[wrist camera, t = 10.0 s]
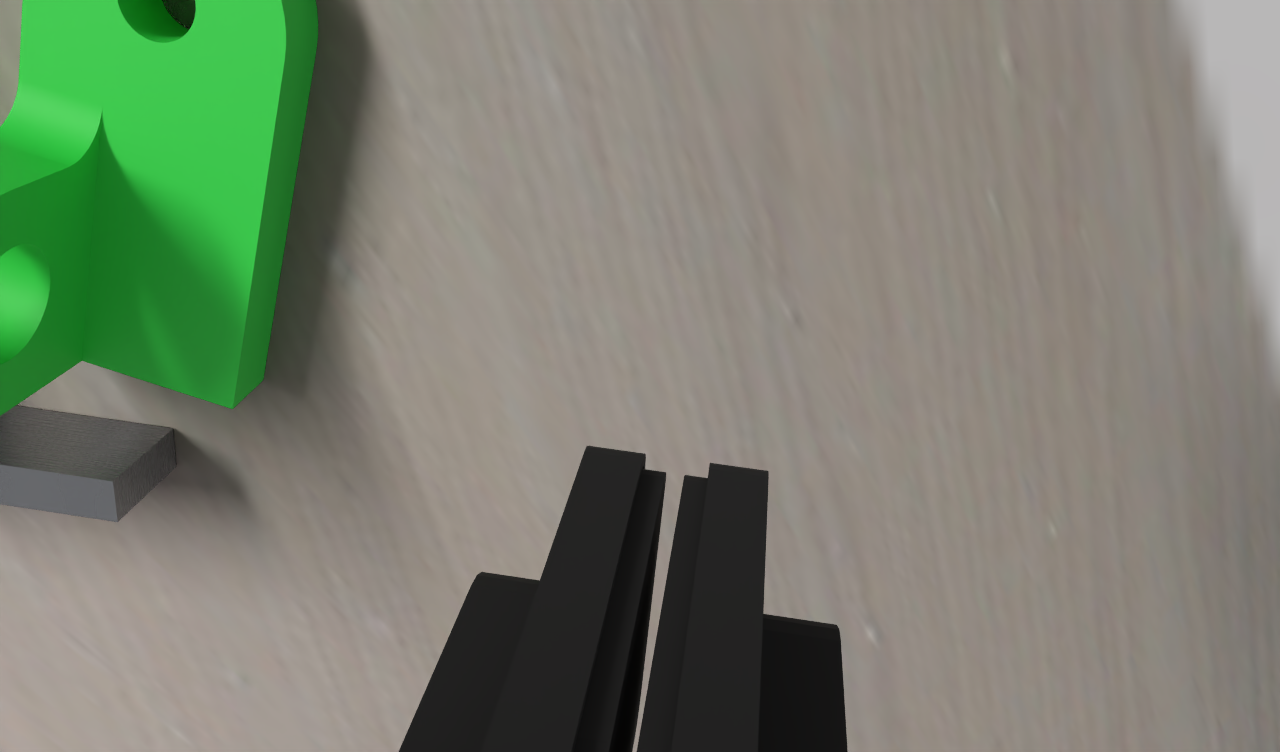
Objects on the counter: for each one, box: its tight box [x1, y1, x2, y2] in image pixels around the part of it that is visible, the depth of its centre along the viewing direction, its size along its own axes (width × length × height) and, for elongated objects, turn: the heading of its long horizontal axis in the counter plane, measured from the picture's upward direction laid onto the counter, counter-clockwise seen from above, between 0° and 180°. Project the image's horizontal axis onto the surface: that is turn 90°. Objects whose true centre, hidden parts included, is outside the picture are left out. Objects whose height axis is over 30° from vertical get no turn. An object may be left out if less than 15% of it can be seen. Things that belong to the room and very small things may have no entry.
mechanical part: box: [0, 0, 318, 416], centre depth 24 cm, size 12×6×8 cm, turn 163°
